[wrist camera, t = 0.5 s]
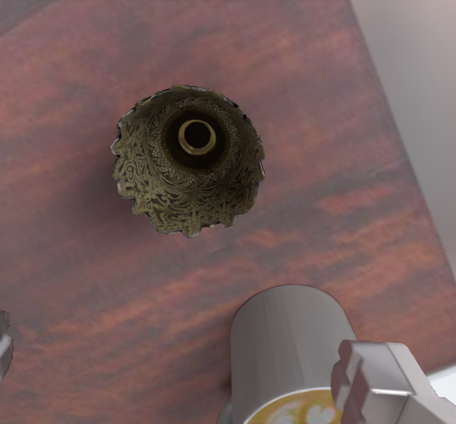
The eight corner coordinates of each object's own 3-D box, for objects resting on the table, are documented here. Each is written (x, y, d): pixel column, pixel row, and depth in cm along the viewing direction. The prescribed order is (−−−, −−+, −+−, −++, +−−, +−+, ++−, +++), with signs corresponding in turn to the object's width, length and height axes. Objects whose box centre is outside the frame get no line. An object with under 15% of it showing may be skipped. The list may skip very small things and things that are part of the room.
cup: (236, 61, 24) (243, 65, 16) (264, 171, 26) (281, 216, 19) (125, 95, 24) (83, 113, 17) (163, 198, 27) (141, 252, 20)
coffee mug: (310, 263, 29) (350, 359, 20) (367, 344, 33) (425, 459, 23) (174, 342, 32) (154, 458, 23) (239, 410, 35) (246, 536, 26)
